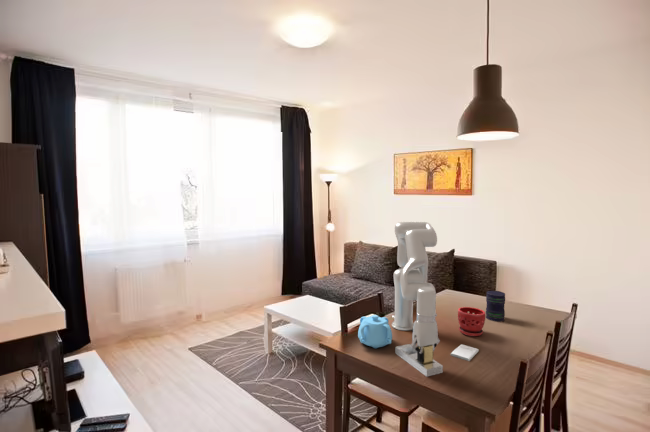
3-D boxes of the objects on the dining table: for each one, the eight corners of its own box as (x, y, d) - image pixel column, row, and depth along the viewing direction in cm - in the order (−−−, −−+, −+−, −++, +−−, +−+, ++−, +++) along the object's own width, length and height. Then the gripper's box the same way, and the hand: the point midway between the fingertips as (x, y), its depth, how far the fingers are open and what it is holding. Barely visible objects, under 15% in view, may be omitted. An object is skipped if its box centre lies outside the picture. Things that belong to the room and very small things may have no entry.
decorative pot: (355, 349, 167) (356, 320, 166) (359, 335, 183) (359, 309, 182) (391, 352, 164) (391, 323, 163) (392, 337, 179) (392, 311, 178)
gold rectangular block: (417, 363, 150) (418, 343, 150) (425, 362, 152) (426, 341, 151) (424, 368, 147) (424, 347, 146) (432, 366, 148) (432, 345, 147)
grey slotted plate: (395, 353, 162) (395, 346, 162) (409, 350, 165) (410, 343, 165) (426, 376, 142) (426, 369, 142) (442, 372, 145) (442, 365, 145)
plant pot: (487, 339, 177) (488, 315, 176) (459, 336, 180) (460, 313, 179) (481, 328, 190) (482, 306, 189) (455, 327, 193) (456, 305, 192)
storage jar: (507, 321, 200) (508, 295, 199) (490, 321, 200) (491, 295, 199) (499, 315, 210) (500, 290, 209) (482, 315, 210) (483, 290, 209)
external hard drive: (450, 356, 160) (460, 347, 170) (469, 362, 155) (478, 352, 164) (450, 353, 160) (460, 343, 169) (469, 358, 155) (478, 348, 164)
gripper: (436, 311, 154) (435, 352, 156) (403, 317, 148) (403, 360, 149) (448, 317, 147) (447, 360, 149) (414, 323, 141) (414, 368, 142)
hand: (425, 359), depth 149 cm, fingers closed on gold rectangular block, 4 cm apart
